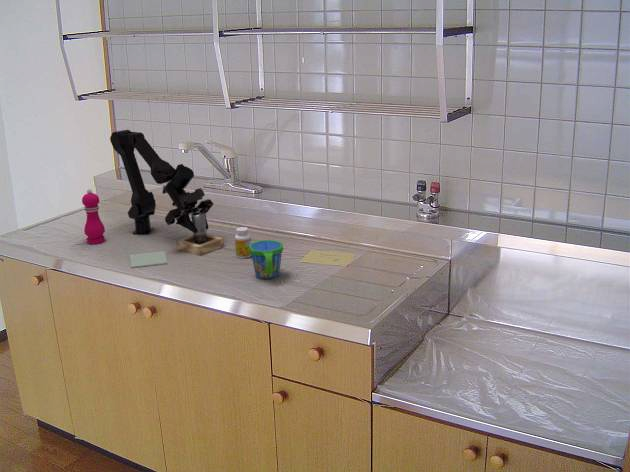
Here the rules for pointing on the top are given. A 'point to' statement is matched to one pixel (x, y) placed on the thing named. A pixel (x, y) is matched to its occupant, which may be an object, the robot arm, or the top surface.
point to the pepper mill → (93, 219)
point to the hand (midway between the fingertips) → (202, 230)
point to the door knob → (199, 227)
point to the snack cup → (266, 258)
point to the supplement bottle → (242, 242)
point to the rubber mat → (148, 259)
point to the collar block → (193, 248)
